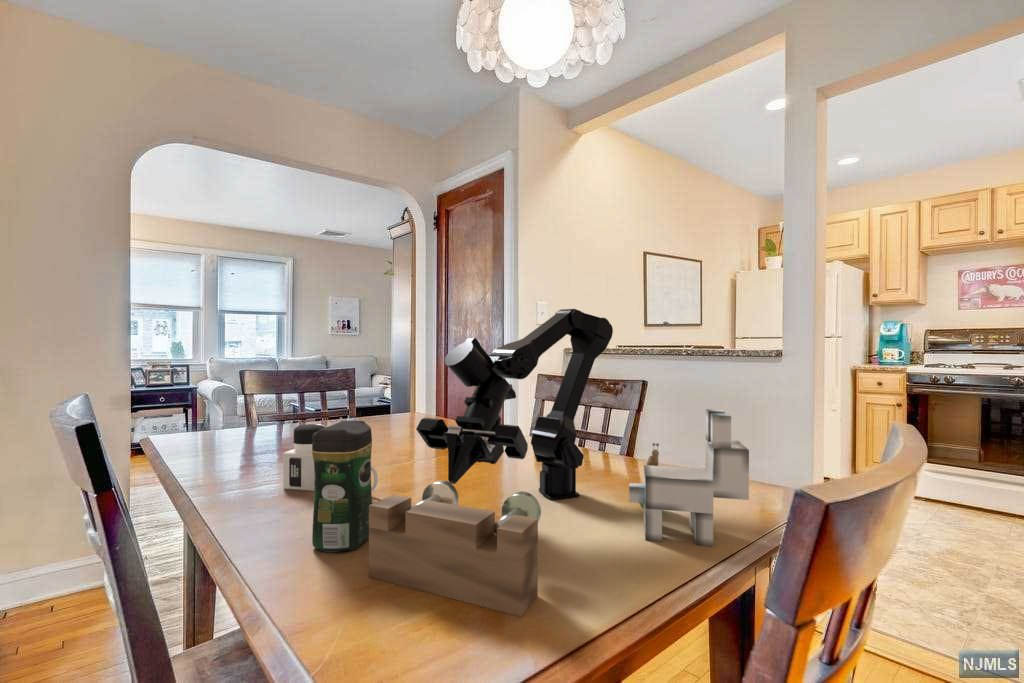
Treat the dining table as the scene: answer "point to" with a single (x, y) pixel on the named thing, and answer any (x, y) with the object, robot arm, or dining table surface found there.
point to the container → (300, 459)
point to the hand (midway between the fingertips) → (451, 482)
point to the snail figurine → (652, 462)
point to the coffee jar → (341, 485)
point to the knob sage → (519, 508)
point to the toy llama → (696, 483)
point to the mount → (455, 552)
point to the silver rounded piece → (439, 493)
